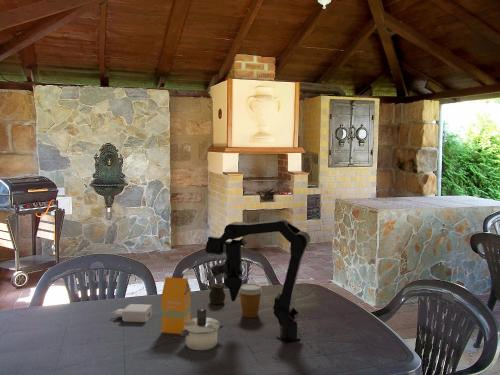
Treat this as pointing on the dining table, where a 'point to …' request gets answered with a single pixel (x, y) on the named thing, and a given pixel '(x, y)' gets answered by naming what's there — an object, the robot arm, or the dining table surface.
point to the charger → (135, 313)
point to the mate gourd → (217, 294)
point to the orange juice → (175, 304)
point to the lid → (201, 323)
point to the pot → (200, 339)
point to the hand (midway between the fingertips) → (233, 297)
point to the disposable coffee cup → (250, 299)
